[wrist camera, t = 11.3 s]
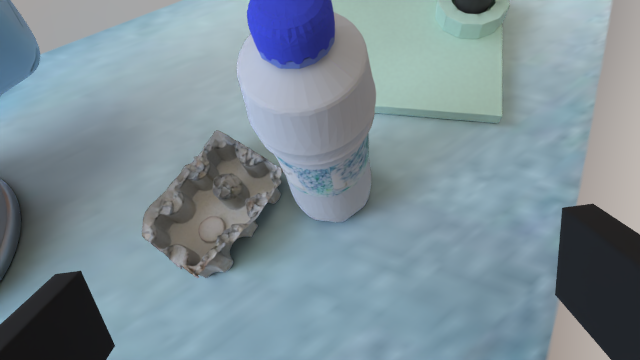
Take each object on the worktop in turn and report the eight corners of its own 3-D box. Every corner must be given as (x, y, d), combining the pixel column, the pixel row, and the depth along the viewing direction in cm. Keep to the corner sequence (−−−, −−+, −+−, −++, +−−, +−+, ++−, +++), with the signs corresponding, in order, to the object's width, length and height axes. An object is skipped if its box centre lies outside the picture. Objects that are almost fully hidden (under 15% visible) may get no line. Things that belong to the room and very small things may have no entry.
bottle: (286, 167, 34) (187, -42, 15) (360, 147, 34) (349, -88, 15) (303, 240, 31) (207, 91, 13) (384, 218, 31) (405, 36, 13)
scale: (294, 106, 36) (288, 87, 33) (320, -5, 41) (316, -30, 38) (499, 123, 33) (510, 103, 30) (499, 1, 38) (509, -26, 35)
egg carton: (215, 292, 30) (193, 285, 26) (151, 239, 33) (122, 225, 29) (296, 186, 33) (287, 166, 29) (232, 144, 35) (215, 120, 31)
